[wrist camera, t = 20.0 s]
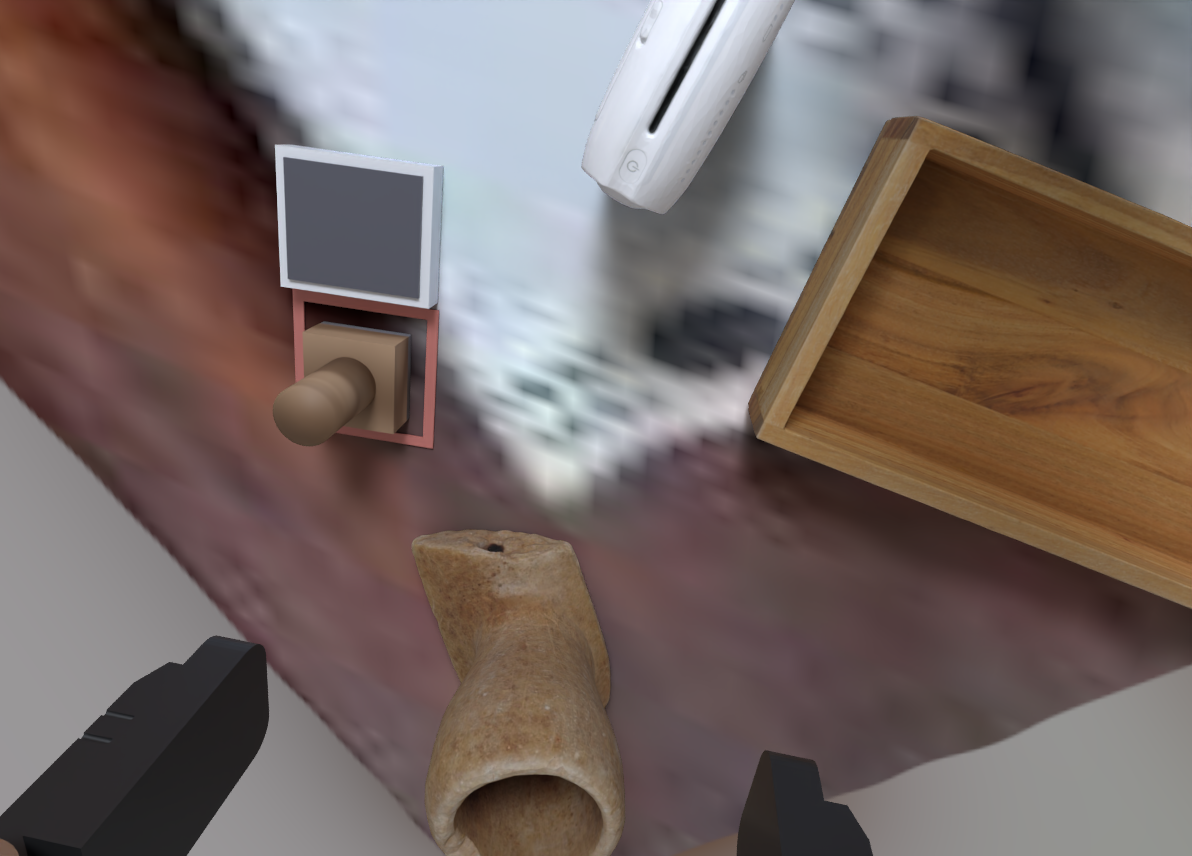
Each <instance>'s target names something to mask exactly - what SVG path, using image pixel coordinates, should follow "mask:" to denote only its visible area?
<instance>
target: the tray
mask: <svg viewBox="0 0 1192 856" xmlns="http://www.w3.org/2000/svg"><path fill="white" fill-rule="evenodd" d="M748 405H749V409H748V410H749V414H750V418H751V421H752V425H753V429H754V432H755V435H756V437H757V438H758V439H760V440H763V441H765V442H767V443H770V444H772V445H775V446H777V447H780V448H782V449H785V450H787V451H790V452H792V453H795V454H797V455H800V456H802V457H805V458H808V459H810V460H813V461H815V462H818V463H821V464H823V465H826V466H828V467H831V468H833V469H836V470H839V471H841V472H844V473H846V474H849V475H851V476H854V477H856V478H859V479H861V480H864V481H867V482H869V483H872V484H874V485H877V486H879V487H882V488H885V489H887V490H890V491H892V492H895V493H898V494H900V495H903V496H905V497H908V498H910V499H913V500H916V501H918V502H921V503H923V504H926V505H928V506H931V507H933V508H936V509H938V510H941V511H943V512H946V513H948V514H951V515H953V516H956V517H958V518H961V519H964V520H967V521H970V522H972V523H975V524H977V525H980V526H982V527H985V528H987V529H990V530H992V531H995V532H997V533H1000V534H1003V535H1005V536H1008V537H1010V538H1013V539H1016V540H1018V541H1021V542H1023V543H1026V544H1028V545H1031V546H1033V547H1036V548H1038V549H1041V550H1044V551H1046V552H1049V553H1051V554H1054V555H1056V556H1059V557H1061V558H1064V559H1066V560H1069V561H1071V562H1074V563H1076V564H1079V565H1081V566H1084V567H1087V568H1089V569H1092V570H1094V571H1097V572H1099V573H1102V574H1104V575H1107V576H1109V577H1112V578H1114V579H1117V580H1119V581H1122V582H1124V583H1127V584H1129V585H1132V586H1135V587H1137V588H1140V589H1142V590H1145V591H1147V592H1150V593H1152V594H1155V595H1157V596H1160V597H1162V598H1165V599H1168V600H1170V601H1173V602H1175V603H1178V604H1180V605H1183V606H1185V607H1188V608H1190V609H1192V227H1190V226H1188V225H1185V224H1183V223H1181V222H1178V221H1176V220H1174V219H1171V218H1169V217H1167V216H1164V215H1162V214H1160V213H1157V212H1155V211H1152V210H1150V209H1147V208H1145V207H1143V206H1140V205H1138V204H1135V203H1133V202H1130V201H1128V200H1125V199H1123V198H1121V197H1118V196H1116V195H1113V194H1111V193H1109V192H1106V191H1104V190H1101V189H1099V188H1097V187H1094V186H1092V185H1089V184H1087V183H1084V182H1082V181H1079V180H1077V179H1075V178H1072V177H1070V176H1067V175H1065V174H1062V173H1060V172H1057V171H1055V170H1053V169H1050V168H1048V167H1045V166H1043V165H1040V164H1038V163H1035V162H1033V161H1031V160H1028V159H1026V158H1023V157H1021V156H1018V155H1016V154H1013V153H1011V152H1008V151H1006V150H1003V149H1001V148H998V147H996V146H993V145H991V144H988V143H986V142H983V141H981V140H978V139H976V138H974V137H971V136H969V135H966V134H964V133H961V132H959V131H956V130H954V129H951V128H949V127H946V126H944V125H941V124H939V123H936V122H933V121H931V120H928V119H925V118H923V117H919V116H912V117H897V118H892V119H891V120H888V121H887V122H886V123H885V125H884V127H883V129H882V131H881V133H880V135H879V137H878V139H877V141H876V143H875V145H874V147H873V149H872V151H871V153H870V155H869V157H868V159H867V161H866V163H865V165H864V167H863V169H862V171H861V173H860V175H859V177H858V179H857V181H856V183H855V185H854V187H853V189H852V191H851V193H850V195H849V197H848V199H847V201H846V203H845V205H844V208H843V210H842V212H841V214H840V216H839V218H838V220H837V222H836V224H835V226H834V228H833V230H832V232H831V234H830V236H829V238H828V240H827V242H826V244H825V246H824V248H823V250H822V252H821V254H820V256H819V258H818V260H817V262H816V264H815V267H814V269H813V271H812V273H811V275H810V277H809V279H808V281H807V283H806V285H805V287H804V289H803V291H802V293H801V295H800V297H799V299H798V301H797V303H796V306H795V308H794V310H793V312H792V314H791V316H790V318H789V320H788V322H787V324H786V326H785V328H784V330H783V332H782V334H781V336H780V338H779V340H778V342H777V345H776V347H775V349H774V351H773V353H772V355H771V357H770V359H769V361H768V363H767V365H766V367H765V369H764V371H763V373H762V375H761V377H760V379H759V382H758V384H757V386H756V388H755V390H754V392H753V394H752V396H751V398H750V400H749V403H748Z"/></svg>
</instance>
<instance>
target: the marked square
mask: <svg viewBox="0 0 1192 856" xmlns="http://www.w3.org/2000/svg"><path fill="white" fill-rule="evenodd" d="M304 301H306V302H313V303H319V304H326V305H333V306H339V307H346V308H352V309H359V310H365V311H372V312H378V313H385V314H391V315H398V316H404V317H411V318H418V319H424V320H427V344H426V371H425V398H424V425H423V437H421V436H415V435H409V434H402V433H396V432H395V433H394V434H389V433H383V432H377V431H371V430H364V429H358V428H352V427H346V426H343V427H342V428H341V429H339V430H338V431H337V432H336V433H340V434H346V435H352V436H359V437H365V438H371V439H377V440H383V441H389V442H395V443H401V444H407V445H413V446H420V447H426V448H432V449H433V442H434V419H435V396H436V373H437V349H438V326H439V310H433V309H426V308H420V307H413V306H407V305H400V304H393V303H387V302H380V301H374V300H367V299H361V298H354V297H347V296H341V295H334V294H328V293H321V292H314V291H308V290H301V289H295V288H293V315H294V344H295V373H296V382H298V381H300V380H301V379H303V378H304V361H303V332H304V331H305V306H304Z"/></svg>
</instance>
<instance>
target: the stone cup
mask: <svg viewBox="0 0 1192 856" xmlns="http://www.w3.org/2000/svg"><path fill="white" fill-rule="evenodd" d="M412 552H413V555H414V558H415V561H416V565H417V568H418V571H419V574H420V577H421V580H422V583H423V586H424V589H425V592H426V595H427V598H428V600H429V603H430V606H431V609H432V611H433V613H434V615H435V617H436V619H437V621H438V625H439V630H440V632H441V635H442V638H443V640H444V643H445V646H446V648H447V651H448V654H449V656H450V659H451V661H452V664H453V666H454V669H455V671H456V672H457V675H458V677H459V679H460V682H461V685H460V686H459V688H458V689H457V691H456V693H455V694H454V696H453V698H452V699H451V701H450V703H449V705H448V707H447V709H446V711H445V713H444V715H443V718H442V721H441V724H440V727H439V730H438V734H437V737H436V740H435V743H434V747H433V752H432V756H431V761H430V765H429V770H428V774H427V778H426V783H425V808H426V813H427V819H428V823H429V827H430V831H431V835H432V836H433V838H434V840H435V841H436V843H437V845H438V846H439V848H440V849H441V850H442V851H443V852H444V854H445V855H446V856H610V855H611V854H612V852H613V851H614V849H615V848H616V846H617V844H618V842H619V840H620V838H621V835H622V831H623V828H624V823H625V790H624V776H623V767H622V761H621V757H620V752H619V748H618V744H617V741H616V738H615V734H614V731H613V729H612V726H611V724H610V721H609V718H608V716H607V713H606V711H605V707H606V705H607V703H608V701H609V696H610V665H609V657H608V653H607V649H606V645H605V641H604V638H603V634H602V631H601V628H600V625H599V622H598V619H597V616H596V613H595V610H594V607H593V604H592V601H591V598H590V595H589V592H588V589H587V587H586V584H585V581H584V578H583V575H582V572H581V568H580V565H579V562H578V559H577V557H576V554H575V552H574V550H573V548H572V546H571V545H570V544H569V543H567V542H565V541H563V540H554V539H550V538H547V537H544V536H540V535H537V534H527V533H523V532H512V531H507V530H502V531H496V532H493V531H489V530H474V529H467V530H462V531H451V530H449V531H444V532H440V533H434V534H429V535H422V536H419V537H417V538H416V539H414V540H413V543H412Z"/></svg>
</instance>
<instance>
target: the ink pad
mask: <svg viewBox="0 0 1192 856" xmlns="http://www.w3.org/2000/svg"><path fill="white" fill-rule="evenodd" d="M275 155H276V180H277V205H278V229H279V254H280V278H281V286H282V287H288V288H295V289H301V290H308V291H314V292H321V293H328V294H334V295H341V296H347V297H354V298H361V299H367V300H374V301H380V302H387V303H393V304H400V305H407V306H413V307H420V308H426V309H429V308H431V307H432V306H434V305H435V304H437V303H438V283H439V259H440V236H441V212H442V188H443V166H440V165H433V164H426V163H419V162H411V161H404V160H397V159H390V158H383V157H376V156H368V155H361V154H354V153H347V152H340V151H333V150H326V149H318V148H311V147H304V146H297V145H275Z"/></svg>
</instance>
